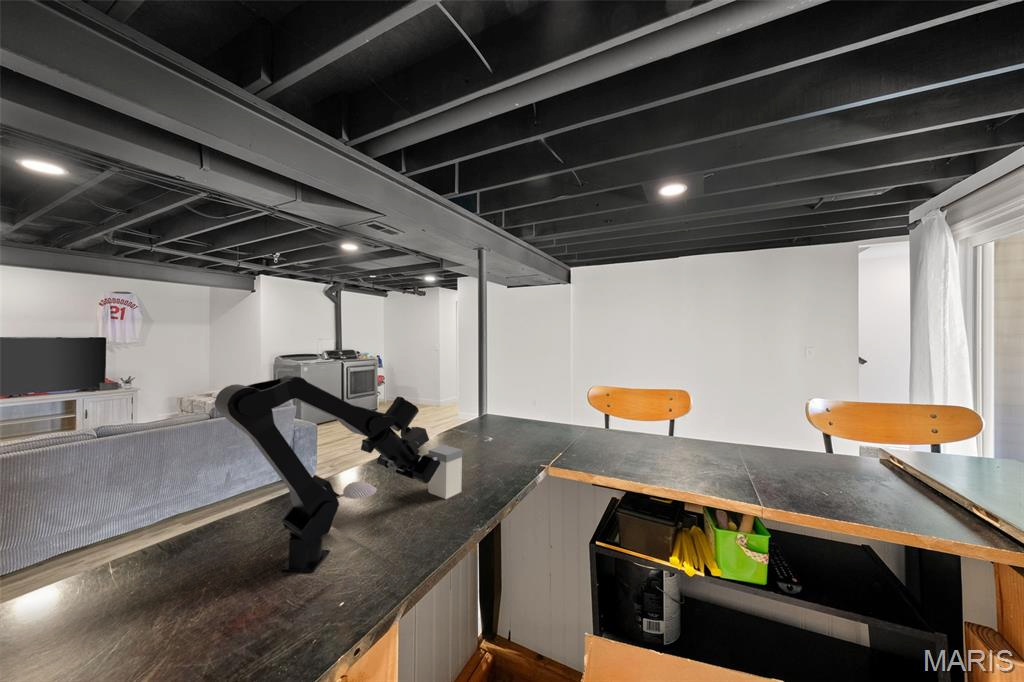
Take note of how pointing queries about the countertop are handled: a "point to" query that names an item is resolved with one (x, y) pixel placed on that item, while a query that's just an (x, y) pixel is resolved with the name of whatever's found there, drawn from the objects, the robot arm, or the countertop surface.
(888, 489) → the countertop surface
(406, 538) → the countertop surface
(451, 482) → the lidded box
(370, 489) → the seashell
